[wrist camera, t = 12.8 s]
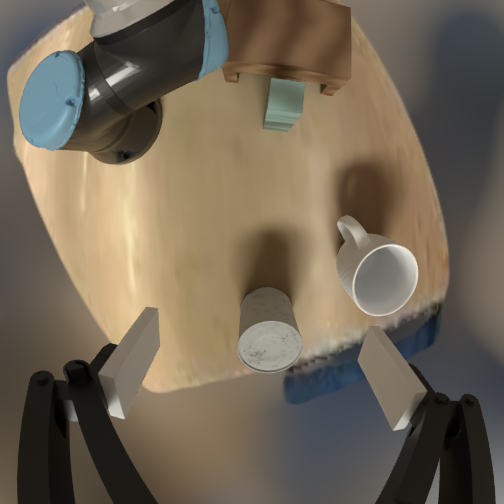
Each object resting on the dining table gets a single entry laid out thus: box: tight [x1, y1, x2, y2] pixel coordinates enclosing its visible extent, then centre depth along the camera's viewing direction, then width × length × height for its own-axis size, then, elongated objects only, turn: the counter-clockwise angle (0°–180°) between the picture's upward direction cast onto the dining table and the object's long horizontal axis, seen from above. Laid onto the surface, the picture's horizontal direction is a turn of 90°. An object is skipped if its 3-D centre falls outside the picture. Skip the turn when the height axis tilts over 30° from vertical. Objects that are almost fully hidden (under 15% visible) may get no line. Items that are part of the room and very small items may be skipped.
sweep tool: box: [263, 76, 305, 132], centre depth 32 cm, size 24×4×14 cm, turn 174°
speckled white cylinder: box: [237, 287, 303, 373], centre depth 44 cm, size 10×10×12 cm
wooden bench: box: [222, 0, 351, 96], centre depth 33 cm, size 18×14×10 cm
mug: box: [337, 215, 418, 316], centre depth 41 cm, size 15×11×13 cm
